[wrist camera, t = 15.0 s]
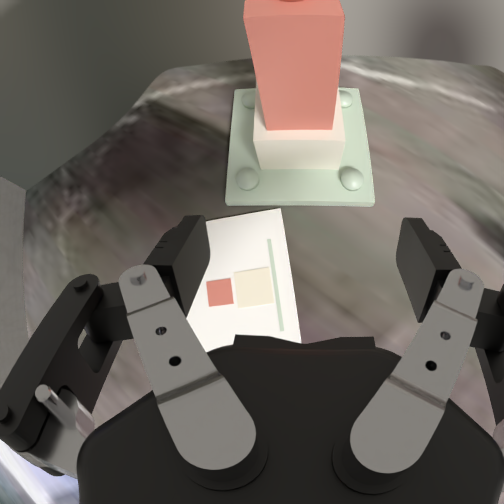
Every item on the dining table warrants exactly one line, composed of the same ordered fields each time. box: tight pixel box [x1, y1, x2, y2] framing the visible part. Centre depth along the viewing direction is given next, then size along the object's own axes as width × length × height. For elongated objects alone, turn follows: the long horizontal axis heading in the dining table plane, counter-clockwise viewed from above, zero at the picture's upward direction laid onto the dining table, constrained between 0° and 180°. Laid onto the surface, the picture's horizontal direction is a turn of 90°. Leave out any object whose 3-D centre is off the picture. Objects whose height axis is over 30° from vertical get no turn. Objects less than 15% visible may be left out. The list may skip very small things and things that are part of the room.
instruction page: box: [186, 208, 301, 352], centre depth 24 cm, size 9×12×1 cm
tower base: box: [225, 79, 375, 207], centre depth 23 cm, size 12×12×6 cm
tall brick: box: [243, 0, 345, 131], centre depth 16 cm, size 5×5×11 cm
